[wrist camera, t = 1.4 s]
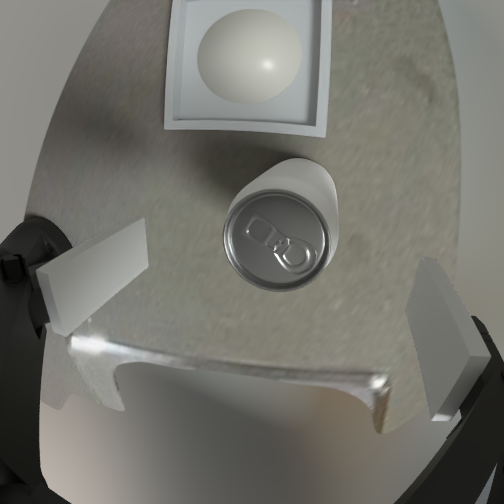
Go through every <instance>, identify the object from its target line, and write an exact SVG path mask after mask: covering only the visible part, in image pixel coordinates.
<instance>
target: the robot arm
mask: <svg viewBox="0 0 504 504" xmlns="http://www.w3.org/2000/svg"><path fill="white" fill-rule="evenodd" d="M148 267H149V266H148V255H147V243H146V230H145V217H141V216H131V217H129V218H127V219H125V220H123V221H121V222H119V223H117V224H115V225H113V226H111V227H110V228H108V229H106V230H104V231H102V232H100V233H99V234H97V235H95V236H93V237H91V238H89V239H88V240H86V241H84V242H82V243H81V244H79V245H77V246H75V247H74V248H72V247H71V245H70V243H69V242H68V240H67V239H66V237H65V236H64V235H63V233H62V232H61V231H60V230H59V229H58V228H57V227H56V226H55V225H54V224H52V223H51V222H50V221H48V220H46V219H44V218H40V217H34V218H31V219H29V220H27V221H25V222H23V223H21V224H19V225H18V226H17V227H16V228H15V229H14V230H13V231H12V232H11V233H10V234H9V235H8V236H7V238H6V239H5V240H4V241H3V242H2V243H1V244H0V504H71V503H70V502H68V501H67V500H65V499H63V498H62V497H61V496H59V495H58V494H56V493H55V492H54V491H52V490H50V489H49V488H48V485H47V483H46V481H45V479H44V477H43V475H42V472H41V468H40V450H39V449H40V448H39V411H40V410H39V409H40V407H39V406H40V389H41V376H42V365H43V356H44V347H45V340H46V333H47V331H46V327H45V324H47V323H50V322H51V325H52V328H53V331H54V332H56V333H58V334H60V335H62V336H64V337H67V336H68V335H69V334H70V333H71V332H72V331H74V330H75V329H76V328H77V327H78V326H79V325H80V324H82V323H83V322H84V321H85V320H86V319H87V318H88V317H89V316H91V315H92V314H93V313H94V312H95V311H96V310H98V309H99V308H100V307H101V306H102V305H103V304H105V303H106V302H107V301H108V300H109V299H110V298H112V297H113V296H114V295H115V294H116V293H117V292H119V291H120V290H121V289H122V288H123V287H125V286H126V285H127V284H128V283H129V282H131V281H132V280H133V279H134V278H135V277H137V276H138V275H139V274H140V273H141V272H143V271H144V270H145V269H146V268H148ZM405 311H406V314H407V317H408V321H409V325H410V328H411V332H412V336H413V339H414V343H415V347H416V351H417V355H418V359H419V363H420V368H421V372H422V377H423V381H424V386H425V391H426V396H427V401H428V406H429V412H430V418H431V421H451V420H452V418H453V417H454V415H455V414H456V413H457V411H458V410H459V409H460V413H461V416H462V418H461V420H460V421H459V422H458V424H457V425H456V426H455V427H454V429H453V430H452V431H451V433H450V434H449V435H448V437H447V440H446V441H445V442H444V444H443V445H442V447H441V448H440V449H439V451H438V452H437V454H436V455H435V456H434V457H433V459H432V460H431V461H430V462H429V464H428V465H427V467H426V468H425V469H424V470H423V471H422V472H421V474H420V475H419V476H418V477H417V478H416V480H415V481H414V482H413V483H412V485H410V487H409V488H408V489H407V490H406V491H405V492H404V493H403V494H402V495H401V497H400V498H399V499H398V500H397V501H396V502H395V503H394V504H475V502H476V501H477V498H478V497H479V496H480V494H481V492H482V490H483V488H484V487H485V485H486V483H487V481H488V479H489V477H490V476H491V474H492V472H493V470H494V468H495V466H496V464H497V466H496V471H495V475H494V479H493V483H492V486H491V490H490V494H489V497H488V501H487V504H504V362H503V359H502V358H501V356H500V353H499V351H498V350H497V348H496V346H495V344H494V342H492V341H493V340H492V338H491V336H490V335H489V333H488V331H487V329H486V327H485V325H484V324H483V323H482V322H481V321H480V320H479V319H478V318H477V317H476V316H470V314H469V312H468V311H467V309H466V307H465V305H464V304H463V302H462V300H461V298H460V297H459V295H458V293H457V291H456V290H455V288H454V286H453V285H452V283H451V282H450V280H449V278H448V277H447V275H446V273H445V272H444V270H443V269H442V267H441V266H440V264H439V263H438V261H437V259H434V258H428V257H422V256H421V259H420V262H419V266H418V270H417V273H416V277H415V280H414V284H413V287H412V290H411V293H410V297H409V300H408V303H407V306H406V309H405Z"/></svg>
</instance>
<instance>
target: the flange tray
mask: <svg viewBox="0 0 504 504" xmlns="http://www.w3.org/2000/svg"><path fill="white" fill-rule="evenodd" d="M331 38H332V0H173V3H172V12H171V21H170V31H169V43H168V55H167V70H166V88H165V114H164V130H178V129H199V130H237V131H256V132H271V133H283V134H295V135H305V136H314V137H322V138H326V128H327V115H328V101H329V84H330V65H331Z"/></svg>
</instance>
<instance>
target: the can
mask: <svg viewBox="0 0 504 504" xmlns="http://www.w3.org/2000/svg"><path fill="white" fill-rule="evenodd" d="M338 234H339V222H338V205H337V194H336V188H335V185H334V182H333V180H332V178H331V176H330V175H329V173H328V172H327V171H326V170H325V169H324V168H323V167H322V166H320V165H319V164H317V163H316V162H313V161H311V160H308V159H303V158H293V159H288V160H285V161H282V162H280V163H278V164H277V165H275V166H273V167H272V168H270V169H269V170H267V171H266V172H265V173H263V174H262V175H260V176H259V177H257V178H256V179H255V180H253V181H252V182H250V183H249V184H248V185H247V186H245V187H244V188H243V189H242V190H241V191H240V192H239V193H238V194H237V196H236V197H235V198H234V200H233V201H232V203H231V205H230V207H229V209H228V212H227V216H226V221H225V225H224V229H223V245H224V250H225V253H226V256H227V258H228V260H229V262H230V264H231V265H232V267H233V268H234V270H235V271H236V272H237V273H238V274H239V275H240V276H241V277H242V278H243V279H244V280H246V281H247V282H249V283H250V284H252V285H254V286H256V287H258V288H261V289H264V290H268V291H274V292H287V291H293V290H296V289H299V288H302V287H304V286H306V285H308V284H309V283H311V282H312V281H313V280H315V279H316V278H317V277H318V276H319V275H320V273H321V272H322V271H323V269H324V268H325V267H326V266H327V265H328V263H329V262H330V261H331V259H332V257H333V255H334V253H335V250H336V246H337V242H338Z"/></svg>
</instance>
